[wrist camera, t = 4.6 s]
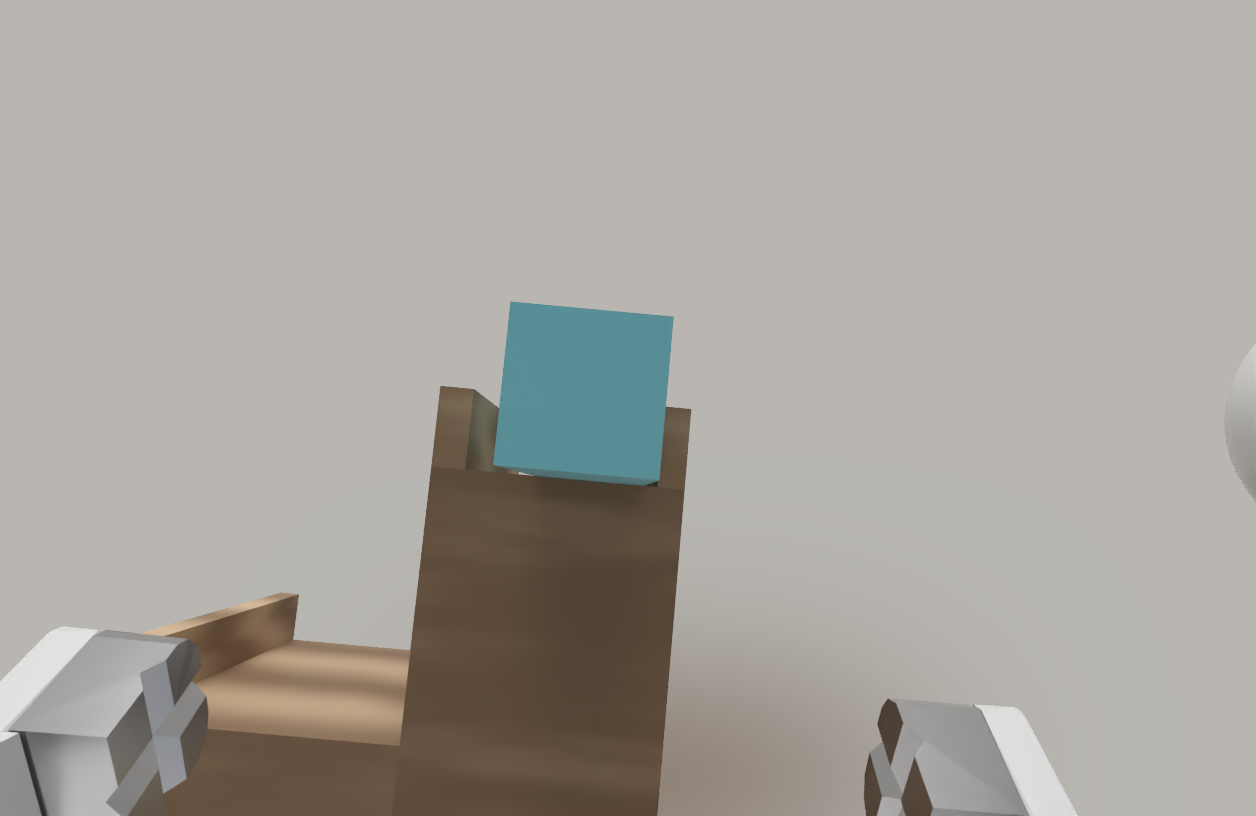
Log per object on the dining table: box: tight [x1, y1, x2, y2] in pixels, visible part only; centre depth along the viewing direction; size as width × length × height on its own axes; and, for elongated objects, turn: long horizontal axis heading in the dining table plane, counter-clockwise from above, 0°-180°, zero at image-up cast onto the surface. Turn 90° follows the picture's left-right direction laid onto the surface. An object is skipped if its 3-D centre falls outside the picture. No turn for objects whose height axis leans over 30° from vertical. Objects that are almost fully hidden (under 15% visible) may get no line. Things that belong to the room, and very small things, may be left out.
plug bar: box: [493, 302, 673, 486], centre depth 27 cm, size 21×3×3 cm, turn 1°
